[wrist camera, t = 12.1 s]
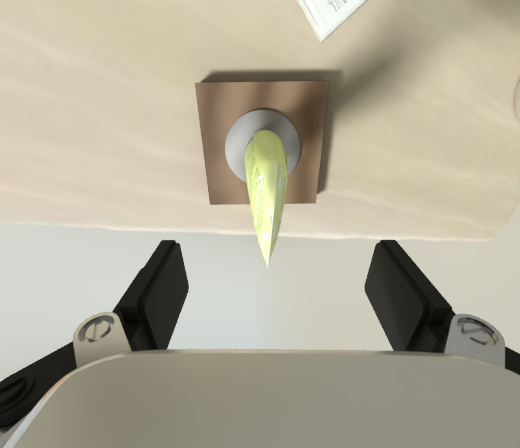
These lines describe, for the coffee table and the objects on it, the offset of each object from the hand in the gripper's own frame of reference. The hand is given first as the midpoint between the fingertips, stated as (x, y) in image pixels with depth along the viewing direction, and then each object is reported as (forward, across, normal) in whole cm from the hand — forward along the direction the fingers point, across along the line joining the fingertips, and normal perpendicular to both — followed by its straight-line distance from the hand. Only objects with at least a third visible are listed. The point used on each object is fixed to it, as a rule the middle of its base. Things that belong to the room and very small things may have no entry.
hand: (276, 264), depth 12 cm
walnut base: (+27, +1, 0) cm, 27 cm away
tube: (+24, +1, 0) cm, 24 cm away
